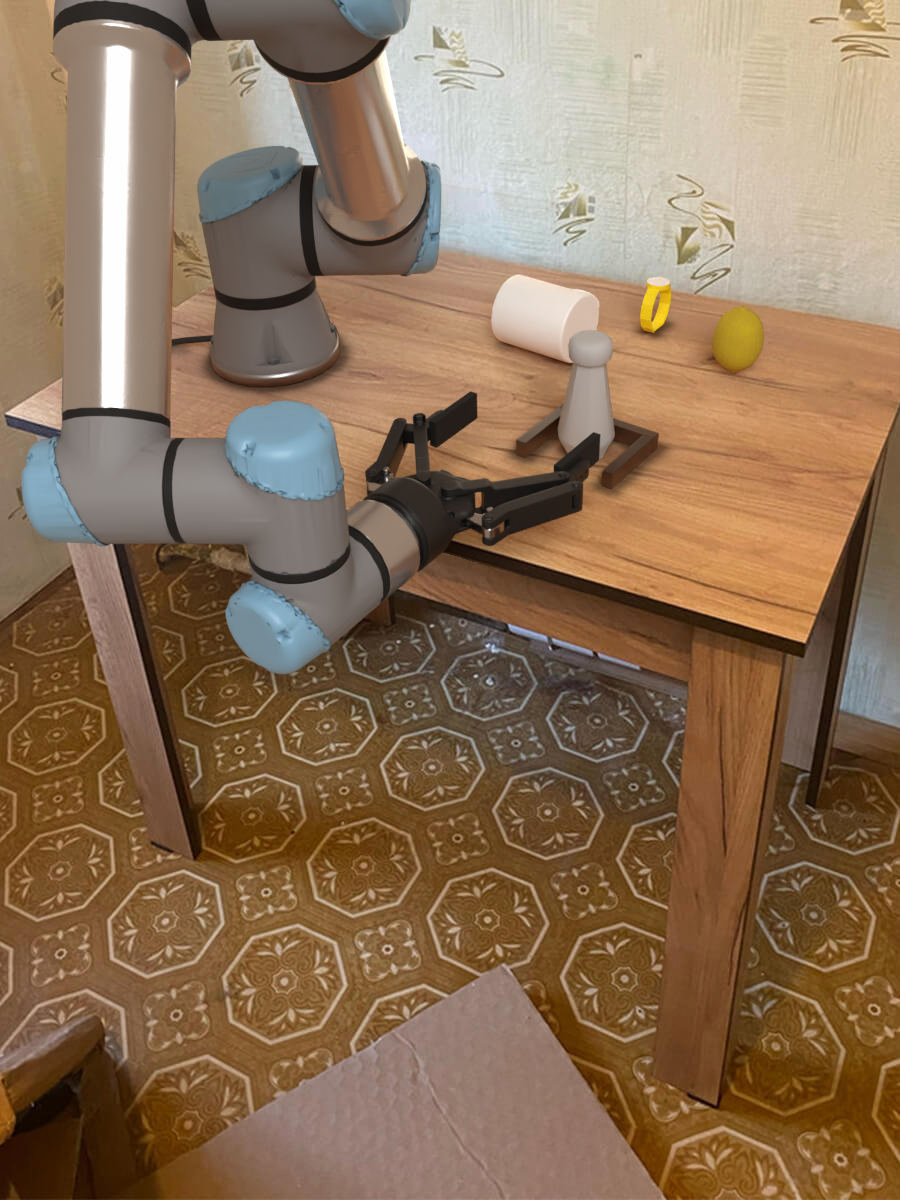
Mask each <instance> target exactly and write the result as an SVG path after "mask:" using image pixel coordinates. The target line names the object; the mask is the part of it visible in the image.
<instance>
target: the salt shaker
mask: <svg viewBox="0 0 900 1200" xmlns="http://www.w3.org/2000/svg"><path fill="white" fill-rule="evenodd" d="M613 346H614V345H613V338H612V337H611V336H610V335H608V334H607V333H606V332H604V331H601V330H598V329H597V330H583V331H580V332H578V333H576V334H575V335H573V336H572V337H571V338H570V340H569V344H568V351H569V358H570V360H572V361H573V363H572V366H571V370H570V374H569V379H568V383H567V387H566V392H565V394H564V399H563V403H564V404H563V403H562V404H563V408H562V412H561V416H560V420H559V425H558V433H557V436H558V440H559V442H560V443H561V445H562V447H563V449H564V451H565V452H566V454H568V453H569V452H570V451H571V450H572V449H574V448H575V447H576V446H577V445H578V444H580V443H581V442H582V441H583V440H584V439H586V438H587V437H588V436H589V435H590V434H592V433H593V432H595V433H598V434H601V435H600V453H599V460H603V458H604V456H605V454H606V452H607V450H608V449H609V447H610V446H611V444H612V442H613V441H614V440H613V439H614V436H615V431H614V423H613V418H614V415H613V407H612V399H611V398H612V397H611V391H610V383H609V375H608V367H607V366H608V365H607V364H608V363H610V361H611V359H612V358H613V354H614V347H613Z"/></svg>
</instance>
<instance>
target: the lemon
mask: <svg viewBox="0 0 900 1200" xmlns="http://www.w3.org/2000/svg"><path fill="white" fill-rule="evenodd" d="M764 332H765V331H764V325H763V322H762V319H761V318H760V316H759V315H758V314H757V313H756V312H755V311H753V310H752V309H750V308H747V307H746V306H745V305H740V306H739V307H733V308H731V309H729V310H728V311H726V312H724V314H722V315H721V317H720V318H719V319H718V321H717V323H716V325H715V329H714V330H713V335H712V341H711V346H712V347H711V348H712V353H713V357H714V358H715V360H716V362H717V363H718V364H719V365H720V366H721V367H723V368H724V369H726V370H728V371H729V372H730V373H731V374H737V373H738V372H739V371H743V370H745V369H748V368H750V367H751V366H753V365H754V363H756V361H758V358H759V357H760V355H761V353H762V350H763V347H764V341H765V333H764Z"/></svg>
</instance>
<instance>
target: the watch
mask: <svg viewBox="0 0 900 1200" xmlns="http://www.w3.org/2000/svg"><path fill="white" fill-rule="evenodd" d="M646 288H647V290H646V291H645V294H644V297H643V299H642V303H641V306H640V313H639V323H640V327H641V329H642V330H643V332H644V331H645V332H648V333H652V334H653V333H655V332H656V331H657V330H658V329H660V328H661V327H662V326H664V325H665V323H666V320H667V318H668V315H669V312H670V308H671V303H672V296H673V295H672V287H671V281H670V279H669V278H666V277H662V276H653V277H649V278H647V280H646ZM658 295H659V303H658V306H657V309H656V313H655V315H654V318H653V320H652V317H653V309H654V306H655V303H656V299H657V297H658Z"/></svg>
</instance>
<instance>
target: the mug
mask: <svg viewBox="0 0 900 1200" xmlns="http://www.w3.org/2000/svg"><path fill="white" fill-rule="evenodd" d="M600 308H601V303H600V301H599V299H598V298H597V296H596V295H594V294H593V293H591V292H589V291H587V290H583V289H578V288H569V287H566V286H562V285H558V284H555V283H552V282H548V281H545V280H541V279H538V278H533V277H531V276H527V275H523V274H514V275H512V276H510V277H508V279H506V280H505V281H504V282H503V284H502V285H501V286H500V288H499V289H498V291H497V293H496V296H495V297H494V301H493V305H492V309H491V316H490V317H491V318H490V320H491V321H490V325H491V330H492V332H493V335H494V336H495V338H496V339H497V340H498V341H499V342H502V343H505V344H508V345H511V346H515V347H518V348H520V349H524V350H526V351H530V352H533V353H535V354H539V355H542V356H545V357H548V358H551V359H555V360H557V361H560V362H564V363H568V364H573V361H572V360H570V358H569V351H568V344H569V340H570V338H571V337H572V336H573V335H575V334H576V333H578V332H580V331H583V330H598V326H599V321H600V320H599V319H600Z"/></svg>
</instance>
